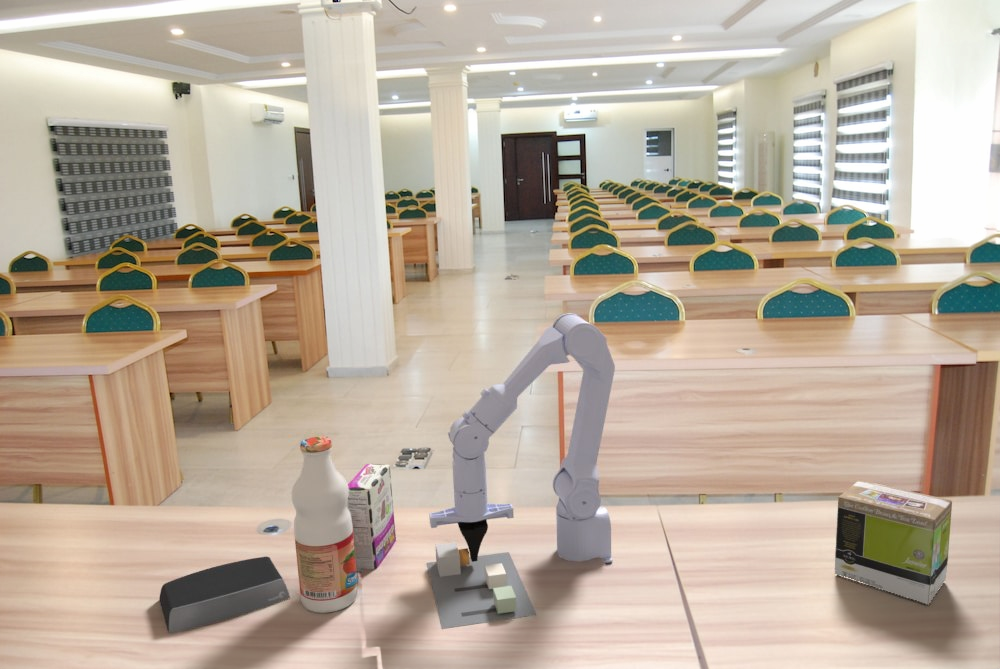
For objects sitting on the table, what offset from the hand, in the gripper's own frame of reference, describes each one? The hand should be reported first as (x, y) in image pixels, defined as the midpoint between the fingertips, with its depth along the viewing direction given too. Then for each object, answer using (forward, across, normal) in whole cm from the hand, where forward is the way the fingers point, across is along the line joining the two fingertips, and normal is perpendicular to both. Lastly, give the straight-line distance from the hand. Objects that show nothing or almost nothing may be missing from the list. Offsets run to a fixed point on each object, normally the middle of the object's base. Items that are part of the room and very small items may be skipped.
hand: (473, 558), depth 142 cm
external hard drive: (+3, +42, -2) cm, 43 cm away
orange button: (+1, +1, 0) cm, 1 cm away
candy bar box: (+2, +17, -9) cm, 19 cm away
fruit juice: (+2, +25, +3) cm, 25 cm away
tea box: (+2, -67, +21) cm, 70 cm away
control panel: (+2, +1, +8) cm, 8 cm away
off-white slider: (+1, -2, +8) cm, 8 cm away
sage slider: (+1, -2, +15) cm, 15 cm away
